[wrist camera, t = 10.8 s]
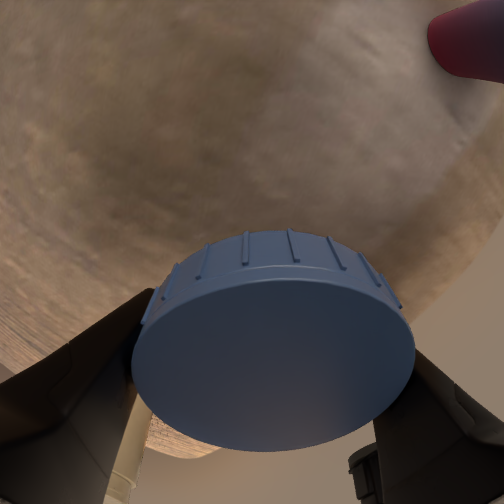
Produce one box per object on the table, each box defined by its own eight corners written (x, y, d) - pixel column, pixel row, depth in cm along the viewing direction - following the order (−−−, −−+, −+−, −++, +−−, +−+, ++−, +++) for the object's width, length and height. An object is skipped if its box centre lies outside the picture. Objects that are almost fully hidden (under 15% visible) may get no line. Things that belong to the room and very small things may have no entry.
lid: (264, 161, 6) (269, 187, 4) (428, 323, 8) (454, 368, 6) (111, 342, 8) (91, 390, 6) (274, 424, 10) (276, 466, 9)
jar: (158, 356, 18) (122, 497, 9) (161, 403, 21) (138, 514, 12) (76, 335, 18) (18, 454, 9) (91, 385, 21) (55, 485, 12)
